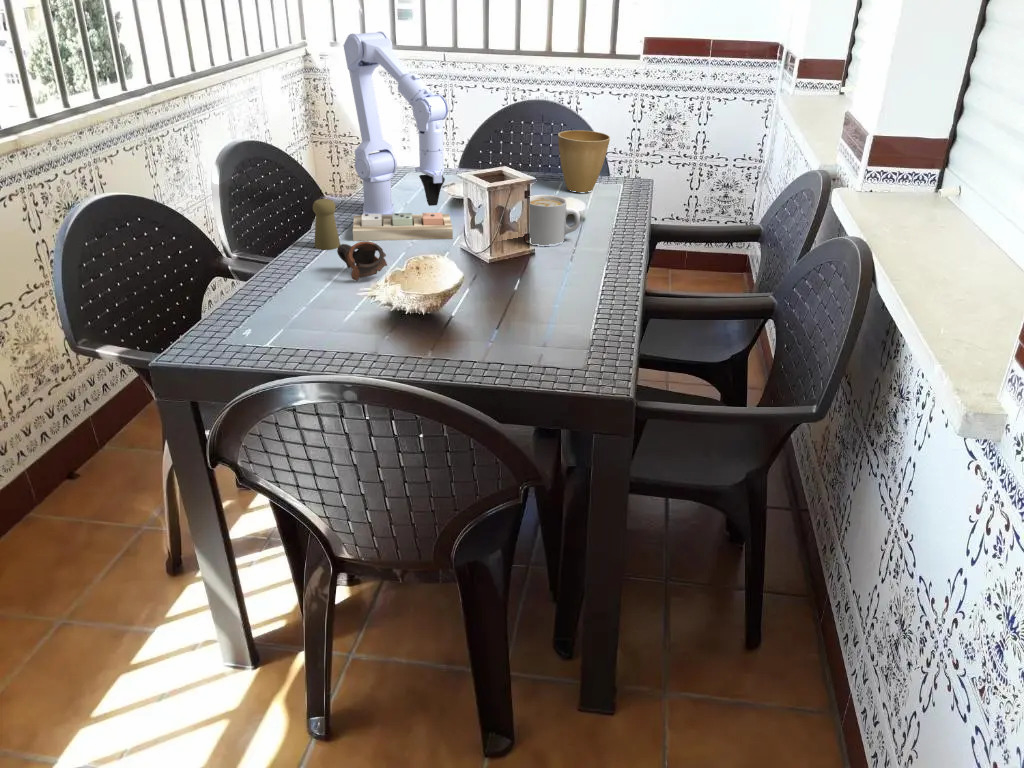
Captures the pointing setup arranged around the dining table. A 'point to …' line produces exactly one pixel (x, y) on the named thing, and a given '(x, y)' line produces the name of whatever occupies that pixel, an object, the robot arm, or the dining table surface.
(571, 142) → the plant pot
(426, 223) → the one dot key
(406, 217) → the three dot key
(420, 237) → the wooden puzzle board
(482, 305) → the dining table surface
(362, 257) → the pottery mug
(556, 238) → the coffee mug
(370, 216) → the two dot key
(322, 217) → the cork
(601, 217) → the dining table surface
